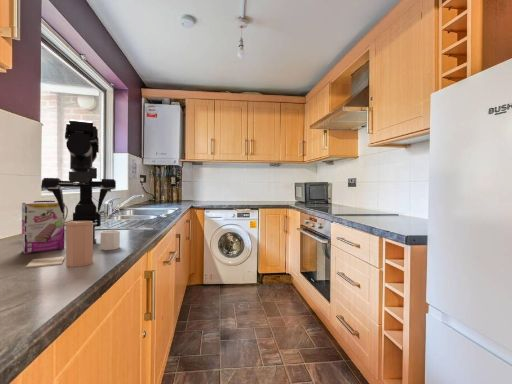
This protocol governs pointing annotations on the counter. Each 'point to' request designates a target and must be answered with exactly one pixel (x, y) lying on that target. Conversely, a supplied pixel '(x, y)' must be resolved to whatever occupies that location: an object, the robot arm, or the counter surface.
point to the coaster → (46, 262)
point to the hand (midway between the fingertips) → (81, 212)
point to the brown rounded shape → (79, 243)
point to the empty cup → (110, 239)
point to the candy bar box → (42, 227)
